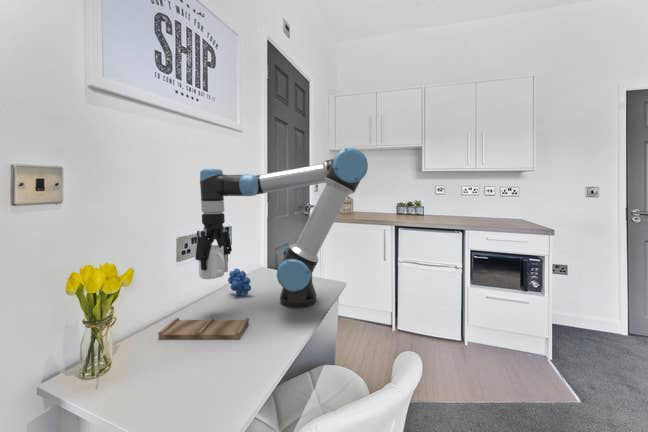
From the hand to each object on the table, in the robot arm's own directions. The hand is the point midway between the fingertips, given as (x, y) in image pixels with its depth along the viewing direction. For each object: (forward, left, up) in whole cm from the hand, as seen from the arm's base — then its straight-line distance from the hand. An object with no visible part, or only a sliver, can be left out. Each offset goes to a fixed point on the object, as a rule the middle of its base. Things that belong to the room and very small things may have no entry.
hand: (215, 275), depth 100 cm
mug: (0, +1, -1) cm, 1 cm away
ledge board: (-1, +12, -15) cm, 19 cm away
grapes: (-2, -19, -15) cm, 25 cm away
